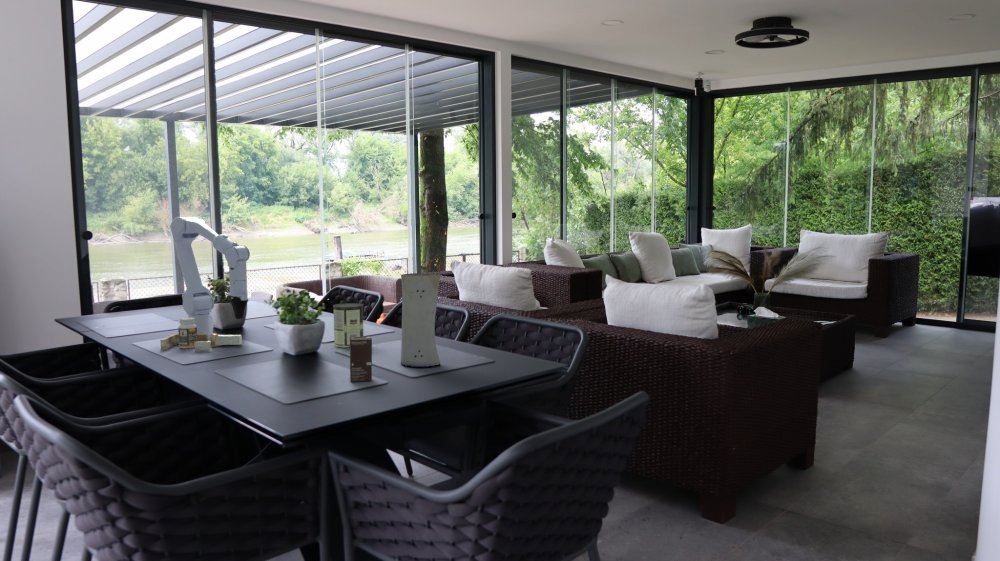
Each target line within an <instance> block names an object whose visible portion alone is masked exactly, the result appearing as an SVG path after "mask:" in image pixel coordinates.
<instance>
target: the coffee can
mask: <svg viewBox="0 0 1000 561" xmlns="http://www.w3.org/2000/svg"><path fill="white" fill-rule="evenodd" d="M332 306H333V335H334V336H333V338H334V341H333V342H334V344H333V346H334V347H335V348H342V349H343V348H345V349H346V348H348V349H350V348H349V347H350V337H364V304H363V303H360V302H359V303H358V302H356V303H355V302H347V303H344V302H343V303H337V304H333V305H332Z"/></svg>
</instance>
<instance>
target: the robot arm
mask: <svg viewBox="0 0 1000 561" xmlns="http://www.w3.org/2000/svg"><path fill="white" fill-rule="evenodd" d="M169 228H170V232H171V235H172V239H173V244H174V249H175V252H176V255H177V256H176V257H177V259H178V262H179V266H180V270H181V274H182V277H183V281H184V284H185V287H186V289H185V290H184V292H183V293H182V295H181V298H182V308H183V310H184V312H185V313H186V315H188V317H187V318H195V322H194V324H195V325H196V326H197V334H208V339H209V336H210V334H217V333H214V324H213V322H214V321H213V316H212V314H211V313H212V310H213V308H214V306H215V299H214V297H213V296H212V294H211V292H210V289H208V287H206V286H204V285H203V282H202V279H201V275H200V272H199V268H198V265H197V261H196V258H195V254H194V250H193V247H192V244H193V242H194V241H195V240H196V239H197V238H198V237H199V236H202V238H204V239H205V240H208V241H209V242H211V243H212V247H213V248H214V249H215V250H216V251H218V252H219V253H221V254H222V255H224V259H225V261H227V267H228V269H229V270H228V271H229V272H228V273H229V275H228V276H229V292H227V293H225V294H226V296H229V297H233V298H229V299H228V300H229V302H230V305H231V307H232V309H233V313H234V317H235V319H236V320H241V319H244V314H245V310H246V307H247V304H248V302H249V298H248V296H249V294H248V281H247V280H248V277H247V273H248V272H247V270H248V269H247V261H248V260H250V257H251V254H250V249H249V248H248V247H247V246H246V244H245V245H243V244H242V245H241V244H238V242H237V241H234V240H233V239H231V238H229V235H227V234H219V233H217V232H216V231H215V230H214V229H212V227H210V226H209V225H208V224H207V223H206V221H205V220H204V219H202V218H201V217H200V216H184V217H183V216H176V217H174V218H173V219H172V221H171V223H170V225H169Z"/></svg>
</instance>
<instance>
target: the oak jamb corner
mask: <svg viewBox="0 0 1000 561" xmlns="http://www.w3.org/2000/svg"><path fill="white" fill-rule="evenodd" d="M197 341H209V338H208V334H197ZM176 344H179V333H173V334H170V335H168V336H166V337H164V338H162V339H160V351H167V350H168V349H170V348H172V347H175V346H176Z"/></svg>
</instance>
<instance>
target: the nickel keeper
mask: <svg viewBox="0 0 1000 561" xmlns="http://www.w3.org/2000/svg"><path fill="white" fill-rule="evenodd" d="M211 351H212V347H211V341H209V340H208V341H196V342H195V348H194V352H197V353H198V352H200V353H201V352H207V353H210V352H211Z"/></svg>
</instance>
